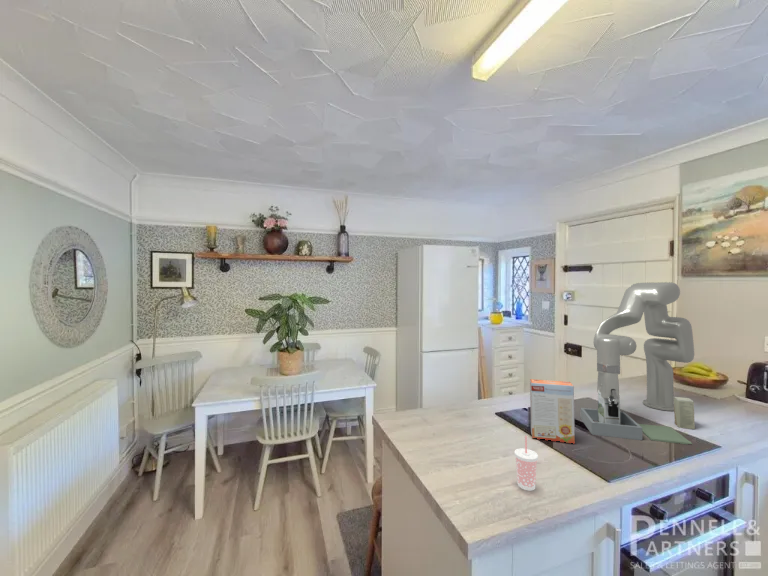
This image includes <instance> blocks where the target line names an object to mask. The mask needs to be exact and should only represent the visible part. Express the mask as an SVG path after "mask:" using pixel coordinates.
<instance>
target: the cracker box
mask: <svg viewBox="0 0 768 576" xmlns="http://www.w3.org/2000/svg"><path fill="white" fill-rule="evenodd" d="M529 388H530V389H529V390H530V391H529V393H530V394H529V395H530V398H529V399H530V400H529V401H530V402H529V403H530V405H529V406H530V433H531V437H532V439H533V438H537V439H536V440H540V439H545V440H544V441H548V440H551V441H550V442H556V441H560V442H559V443H564V442H566V444H571V443H573V445H574V444H576V442H575V441H576V440H575V439H576V438H575V433H576V432H575V431H576V430H575V393H574V392H575V391H574V389H575V386H574V385H573V383H571V382H570V381H563V380H561V381H560V380H547V379H529Z"/></svg>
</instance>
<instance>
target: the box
mask: <svg viewBox="0 0 768 576" xmlns="http://www.w3.org/2000/svg"><path fill="white" fill-rule="evenodd" d="M673 412H674V413H673V414H674V416H673V417H674V419H673V420H674V425H676V426H677V427H678V429H679V428H680V429H688V430H689V429H690V430H695V429H696V425H695V423H696V422H695V402H694V400H693V399H691V398H689V397H679V396H674V411H673Z"/></svg>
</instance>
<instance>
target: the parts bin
mask: <svg viewBox="0 0 768 576" xmlns="http://www.w3.org/2000/svg"><path fill="white" fill-rule="evenodd" d="M581 419H582V420H581ZM580 420H581V421H582V423H583V424H584V425H585V427H586V428H587V430H588V431H589V433H590V434H591V435H593V436H603V437H611V438H621V439H626V440H627V439H629V440H636V441H637V440H638V441H643V432H642V427H641V426H640V425H639V424H640V423H638V422H636V421H635V420H634V419H633V418H632V417H631V416H630V415H629V414H627V413H626V412H625V411H620V425H619V424H610V423H600V422H598V408H597V409H596V408H588V407H587V408H586V407H580ZM593 420H594V421H593Z"/></svg>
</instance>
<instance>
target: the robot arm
mask: <svg viewBox="0 0 768 576" xmlns="http://www.w3.org/2000/svg"><path fill="white" fill-rule="evenodd" d="M680 295H681V289H680V287H679V285H678V284H677V283H675V282H670V281H669V282H667V281H665V282H663V281H662V282H638V283H637V282H636V283H633V284H631V286H629V287H628V288H627V289H626V290H625V292H624V294H623V296H622V298H621V301H620V304H619V307H618V309H617V312H616V313H614V314H613V315H610V316H609V317H608V318H606V319H604V320H603V321H602V322H601V323H600V324H599V326H598V327H597V329H596V332H595V335H594V337H593V347H594V348H595V350H596V372H598V373H597V386H596V388H597V389H596V390H597V391H596V392H597V393H598V390H599V391H600V392H601V396H602V397H603V398H604V399H608V402H609V405H608V416H610V417H618V407H619V405H618V404H619V403H618V400H619V395H620V385H619V384H620V383H619V375H621V356H629V355H632V354H634V353H635V352H636V350H637V342H636V341H635V340H634V339H633V338H632V337H629V336H627V335H626V336H625V335H616V334H611V333H612V332H613V331H615V330H618V329H620V328H624V327H628V326H631V325H635V324H638V323H640V322H641V320H642V318H643V315H644V326H645V331H646V333H647V334H648V335H649V336H653V337H654V338H647V339H646V340H645V341H644V343H643V351H644V352H643V353H644V356H645V360H646V361H645V362H646V363H645V366H646V399H643V400H642V404H643V405H644V406H646V407H649V408H652V409H656V410H661V411H668V412H670V411H671V412H674V397H675V396H674V368H673V367H672V366H671V364H670V362H678V363H684V364H685V363H687V364H688V363H691V362H692V361H694V358H695V346H694V336H693V335H694V334H693V327H692V323H691V322H690V320H689V319H687V318H686V317H685V318H684V317H678V316H669V312H668V306H667V305H670V304H672V303H675V302H677V300H678V299H679V298H680ZM655 337H656V338H655ZM657 337H658V338H657ZM667 338H668V339H667ZM669 361H670V362H669ZM610 397H612V398H610ZM611 400H612V402H611Z"/></svg>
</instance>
